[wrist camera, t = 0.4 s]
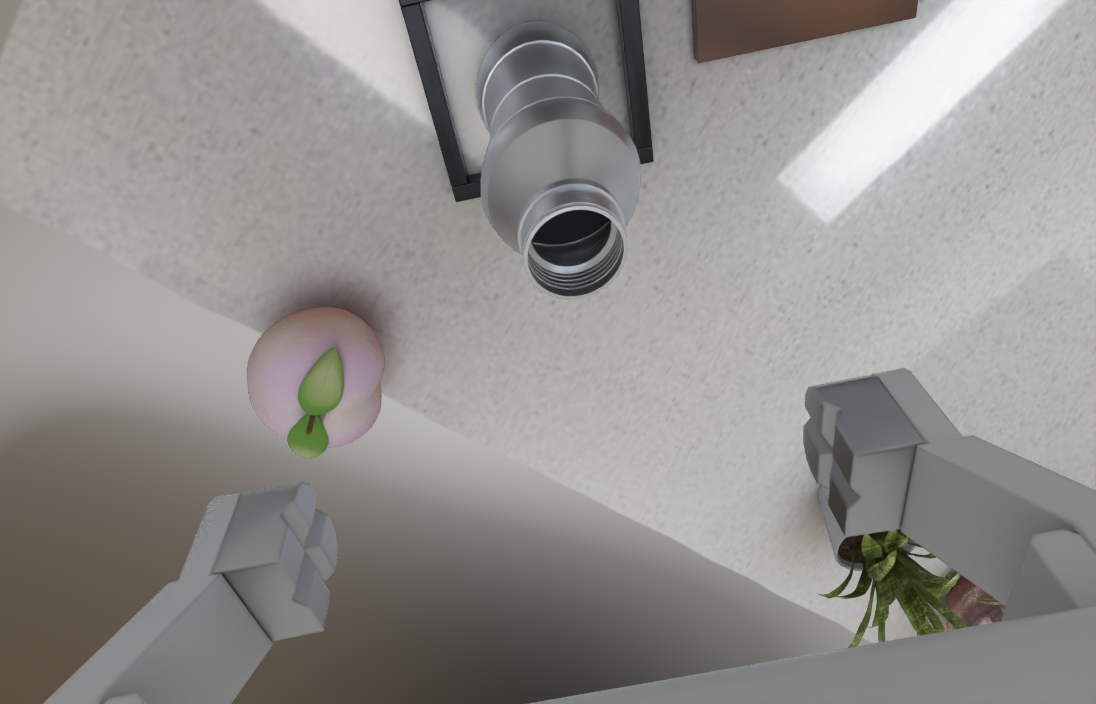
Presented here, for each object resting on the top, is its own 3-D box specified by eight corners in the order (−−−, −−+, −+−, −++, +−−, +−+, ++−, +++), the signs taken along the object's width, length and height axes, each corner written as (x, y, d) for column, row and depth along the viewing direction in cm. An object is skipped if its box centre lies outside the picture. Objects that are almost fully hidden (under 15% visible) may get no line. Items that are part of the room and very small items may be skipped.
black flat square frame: (396, -20, 37) (394, -15, 36) (628, -70, 36) (632, -67, 35) (456, 193, 44) (455, 202, 43) (649, 154, 44) (653, 161, 43)
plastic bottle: (454, 100, 41) (445, 294, 25) (511, -15, 37) (542, 124, 22) (553, 152, 43) (601, 359, 27) (614, 48, 40) (710, 215, 24)
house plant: (974, 441, 62) (1106, 610, 49) (887, 542, 70) (982, 710, 57) (830, 417, 59) (931, 592, 46) (756, 526, 67) (825, 701, 54)
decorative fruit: (264, 264, 46) (222, 362, 38) (395, 281, 48) (380, 377, 40) (268, 377, 52) (231, 482, 44) (385, 388, 53) (370, 492, 45)
